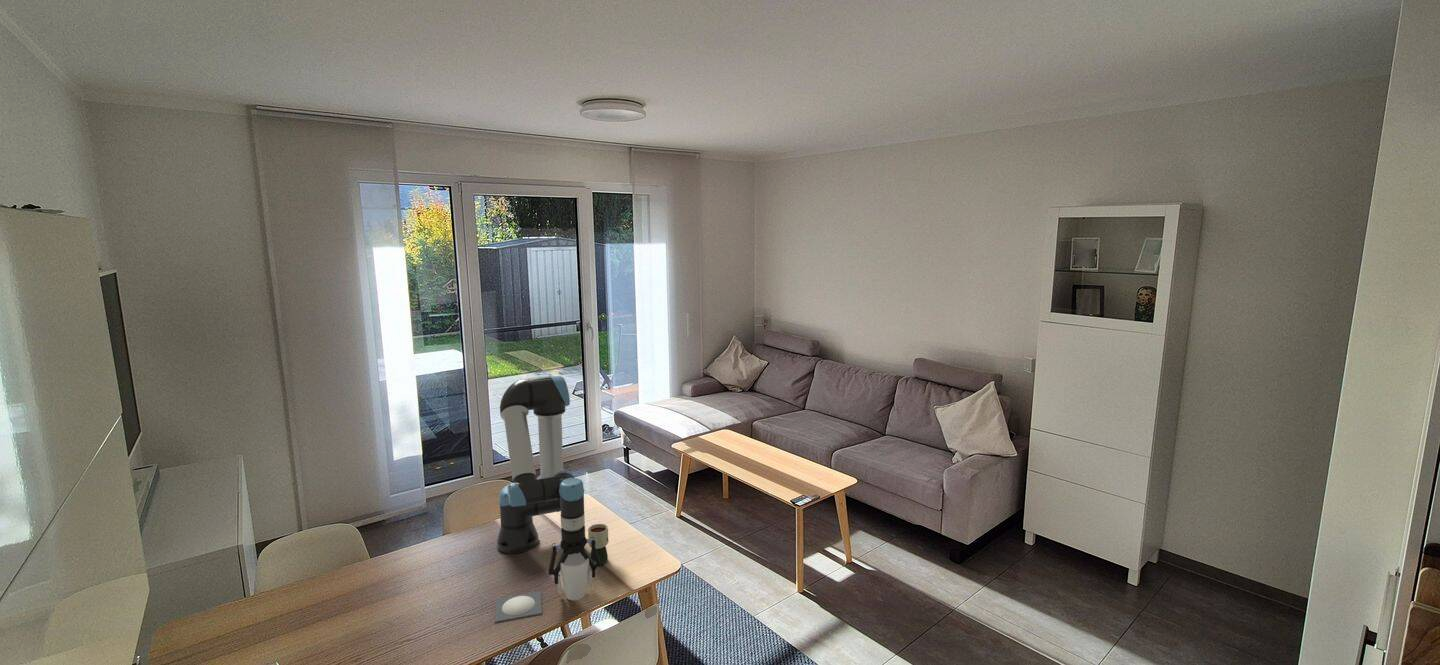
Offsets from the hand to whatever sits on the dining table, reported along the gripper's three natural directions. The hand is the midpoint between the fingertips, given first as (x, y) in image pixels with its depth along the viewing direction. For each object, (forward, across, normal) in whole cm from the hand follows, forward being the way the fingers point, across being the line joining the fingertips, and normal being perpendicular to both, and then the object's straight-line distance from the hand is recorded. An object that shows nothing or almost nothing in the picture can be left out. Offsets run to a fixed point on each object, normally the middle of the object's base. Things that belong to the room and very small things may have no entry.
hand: (575, 589), depth 200 cm
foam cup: (+2, 0, 0) cm, 2 cm away
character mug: (+2, +10, +18) cm, 21 cm away
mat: (+2, -18, -1) cm, 18 cm away
